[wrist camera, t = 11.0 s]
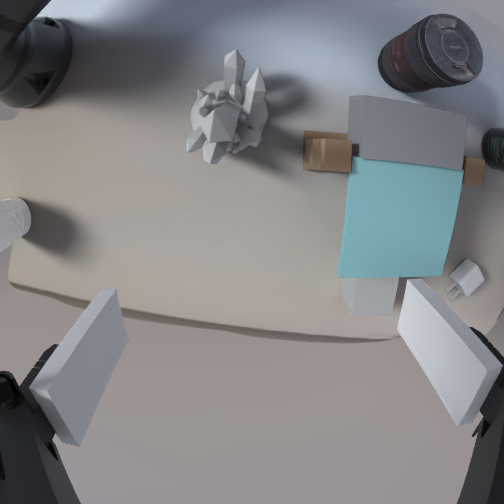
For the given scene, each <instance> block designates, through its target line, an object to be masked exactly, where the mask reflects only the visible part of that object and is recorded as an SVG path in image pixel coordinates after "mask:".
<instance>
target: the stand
mask: <svg viewBox="0 0 504 504" xmlns="http://www.w3.org/2000/svg"><path fill="white" fill-rule="evenodd" d="M352 155H353V156H356V155H354V154H352V140H348V134H342V133H329V132H314V131H304V152H303V169H304V170H321V171H336V172H351V156H352ZM484 169H485V160H482V159H477V158H472V157H467V156H464V158H463V165H462V170H464V173H463V180H462V183H465V184H469V185H476V186H483V180H484Z"/></svg>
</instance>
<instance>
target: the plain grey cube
mask: <svg viewBox="0 0 504 504" xmlns="http://www.w3.org/2000/svg"><path fill="white" fill-rule="evenodd" d="M398 282H399V277H384V278H341V279H340V287H339V295H340V296H341V298H342V300H343V302H344V304H345V306H346V308H347V310H348V312H349V314H350V316H351V317H358V316H379V315H392V310H393V306H394V301H395V297H396V292H397V287H398Z"/></svg>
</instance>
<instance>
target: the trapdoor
mask: <svg viewBox="0 0 504 504" xmlns="http://www.w3.org/2000/svg"><path fill="white" fill-rule="evenodd" d="M466 129H467V116H466V115H462V114H458V113H454V112H450V111H446V110H442V109H438V108H433V107H429V106H424V105H419V104H414V103H409V102H403V101H398V100H392V99H385V98H379V97H372V96H350V98H349V123H348V140H352V154H354V155H356V156H353V155H352V156H351V172H349V174H348V185H347V196H346V206H345V215H344V224H343V233H342V241H341V249H340V256H339V264H338V271H337V275H338V277H339V278H384V277H425V276H441V275H442V271H443V268H444V264H445V260H446V257H447V253H448V249H449V245H450V241H451V236H452V232H453V228H454V223H455V218H456V213H457V208H458V203H459V198H460V192H461V186H462V180H463V173H464V170H462V165H463V158H464V149H465V140H466Z"/></svg>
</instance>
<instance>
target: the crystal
mask: <svg viewBox="0 0 504 504" xmlns="http://www.w3.org/2000/svg"><path fill="white" fill-rule="evenodd" d="M244 67H245V60H244V59H243V57H242V56H241V55H240V53H239V52H238V50H237V49H235V50H234V51H232V52H230V53H228V54H227V55H225V58H224V80H216V81H215V82H213V83H212V84H210V85H209V86H208V87H206V88H205V89H201V88H200V89H199V90H198V91H197V98H196V100H195V102H194V104H193V107H192V110H191V114H190V115H191V121H192V127H193V130H194V132H193V133H192V134H191V135H190V136H189V138H188V140H187V143H186V149H187V153H189V152H193V151H195V150H197V149H200V148H201V147H202V145H203V144H204V143H205V144H204V146H203V159H204V160H205V161H206V162H208V163H209V164H217V163H218V162H219V161H220V159H221V158H222V157H223V156H224V154H225V152H227V151H232V152H233V154H235V153H239V151H240V150H244V149H245V148H246V147H248V146H249V145H251V146H254V147H257V146H258V145H259V143H260V142H261V140H262V138H261V134H262V132H263V129H264V126H265V124H266V121H267V119H268V110H267V104H266V101H265V99H264V96H265V93H266V86H265V82H264V79H263V76H262V73H261V70H260V67H258V69H257V70H256V72H255V73H254V74H253V76H252V77H251V79H250V80H249V81H248V83H246V82H244V81H242V78H243V72H244Z"/></svg>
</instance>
